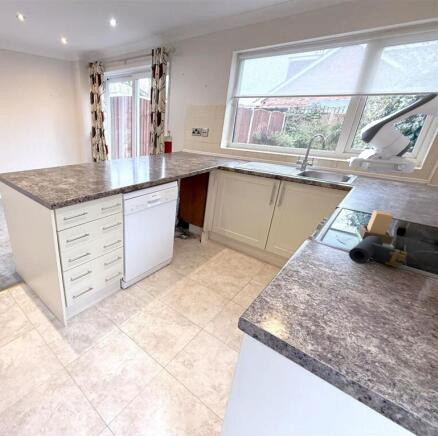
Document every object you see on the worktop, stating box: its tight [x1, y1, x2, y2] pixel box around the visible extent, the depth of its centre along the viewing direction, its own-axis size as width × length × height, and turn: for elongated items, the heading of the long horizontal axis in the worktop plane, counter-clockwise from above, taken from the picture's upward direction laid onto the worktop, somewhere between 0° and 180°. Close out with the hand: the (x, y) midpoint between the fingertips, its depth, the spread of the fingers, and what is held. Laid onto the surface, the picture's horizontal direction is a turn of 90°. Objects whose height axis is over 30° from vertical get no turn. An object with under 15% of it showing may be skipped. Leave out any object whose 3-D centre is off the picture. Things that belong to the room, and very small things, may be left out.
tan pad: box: [366, 209, 394, 235], centre depth 91 cm, size 4×4×10 cm
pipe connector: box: [348, 236, 408, 269], centre depth 79 cm, size 12×5×15 cm
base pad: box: [354, 223, 395, 249], centre depth 92 cm, size 12×9×4 cm
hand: (384, 167), depth 96 cm, fingers open, 8 cm apart
